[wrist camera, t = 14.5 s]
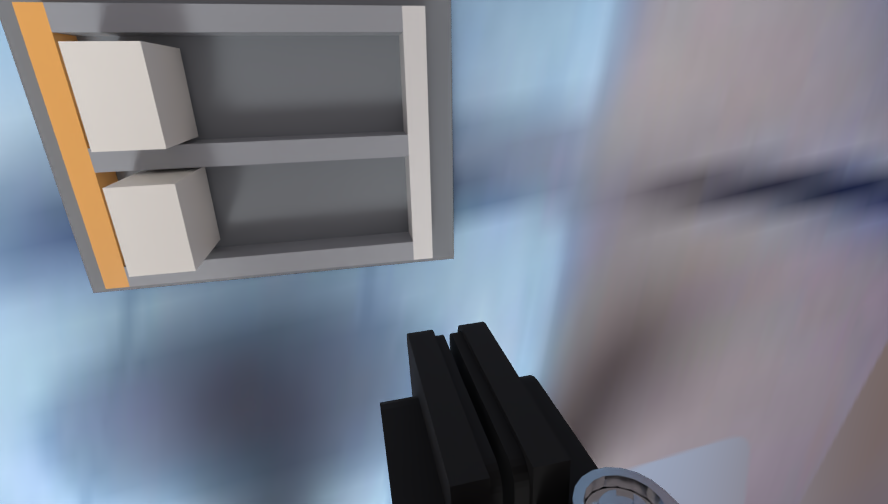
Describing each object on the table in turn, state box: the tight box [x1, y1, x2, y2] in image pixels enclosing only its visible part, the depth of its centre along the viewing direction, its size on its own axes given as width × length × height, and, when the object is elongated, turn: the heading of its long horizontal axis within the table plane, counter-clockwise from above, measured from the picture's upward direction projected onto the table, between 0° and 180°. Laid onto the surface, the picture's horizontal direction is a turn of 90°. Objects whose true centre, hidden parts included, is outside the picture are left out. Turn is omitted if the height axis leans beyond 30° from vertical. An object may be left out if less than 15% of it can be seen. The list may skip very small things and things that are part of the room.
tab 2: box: [102, 167, 220, 277], centre depth 23 cm, size 3×4×5 cm
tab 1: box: [58, 41, 198, 152], centre depth 21 cm, size 3×4×5 cm
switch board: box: [0, 0, 454, 293], centre depth 26 cm, size 22×16×4 cm
